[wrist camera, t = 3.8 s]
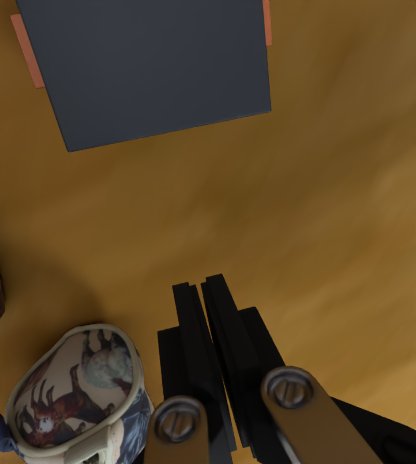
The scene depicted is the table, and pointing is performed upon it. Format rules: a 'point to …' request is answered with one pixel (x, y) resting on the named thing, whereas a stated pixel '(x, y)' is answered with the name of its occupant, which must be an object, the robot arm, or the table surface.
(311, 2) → the table surface
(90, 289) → the table surface
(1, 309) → the brick
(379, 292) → the table surface
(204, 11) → the lunchbox
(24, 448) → the pencil case
